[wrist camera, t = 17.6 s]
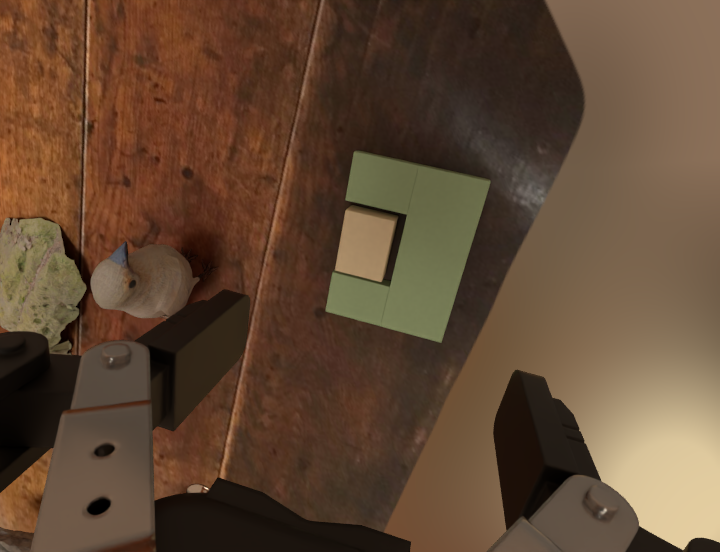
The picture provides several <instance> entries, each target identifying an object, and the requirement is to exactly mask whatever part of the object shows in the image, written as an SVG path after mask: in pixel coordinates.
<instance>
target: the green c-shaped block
mask: <svg viewBox="0 0 720 552" xmlns="http://www.w3.org/2000/svg"><path fill="white" fill-rule="evenodd" d="M490 183H491V181H490V180H489V179H486V178H482V177H477V176H473V175H468V174H464V173H459V172H455V171H450V170H445V169H441V168H436V167H432V166H427V165H423V164H418V163H414V162H409V161H405V160H400V159H396V158H391V157H387V156H382V155H377V154H373V153H368V152H364V151H359V150H357V151H354V155H353V160H352V166H351V171H350V177H349V182H348V188H347V194H346V199H345V200H347V201H351V202H355V203H360V204H364V205H368V206H372V207H377V208H381V209H385V210H389V211H393V212H398V213H402V214H406V215H407V217H406V221H405V225H404V230H403V234H402V238H401V242H400V246H399V251H398V255H397V259H396V263H395V267H394V272H393V276H392V280H391V281H388V280H384V279H383V280H382V282H378V281H375V280H371V279H367V278H363V277H359V276H355V275H351V274H347V273H343V272H339V271H336V270H334V271H333V272H332V277H331V283H330V289H329V294H328V300H327V305H326V312H330V313H334V314H337V315H341V316H345V317H348V318H352V319H356V320H359V321H363V322H367V323H371V324H374V325H378V326H381V327H385V328H389V329H392V330H396V331H400V332H403V333H407V334H411V335H414V336H418V337H422V338H426V339H429V340H433V341H437V342H440V343H441V342H442V339H443V336H444V332H445V329H446V326H447V323H448V319H449V316H450V313H451V310H452V306H453V303H454V300H455V297H456V293H457V290H458V287H459V284H460V280H461V277H462V274H463V271H464V267H465V264H466V261H467V257H468V254H469V251H470V248H471V244H472V241H473V238H474V235H475V231H476V228H477V225H478V222H479V218H480V215H481V212H482V209H483V205H484V202H485V199H486V196H487V192H488V189H489V186H490Z"/></svg>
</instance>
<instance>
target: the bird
mask: <svg viewBox="0 0 720 552" xmlns="http://www.w3.org/2000/svg"><path fill="white" fill-rule="evenodd" d="M191 250H192V249H191ZM191 250H190V251H189V252H188V254H187V256H186V255H185V253H184V252H183V248H182V249H181V251H182V255H183V256H182V255H181V254H180V253H179V252H178V251H176V250H175V249H173V248H172V247H170V246H168V245H162V244H159V245H154V244H150V245H148V246H145V247H143V248H141V249H139V250H137V251H135V252H133V253H130V254H128V249H127V242H126V241H125V242H124V243H123V244H122V245H121V246H120V247H119V248H118V249H117V250H116V251H115V252H114V253H113V254H112V255H111V256H110V257H108V258H107V259H105V260H104V261H102V262H101V263H99V265H98V266H97V267H96V268H95V270H94V272H93V275H92V278H91V290H92V293H93V297H94V299H95V301H96V302H97V303H98V305H99V306H100V307H102V308H105V309H117V310H122V311H125V312H127V313H129V314H131V315H133V316H135V317H139V318H156V317H161V316H164V317H166V318H169V317H168V316H172V315H173V314H174V315H175V314H176V312H178V311H179V310H181V309H182V308H183V307H185V305H186V303H187V301H188V298H189V296H190V294H191V292H192V289H193V287H194V285H195V284H196V283H197V282H198V281H199V280H200V278H201V277H202V276H203V275H204V277H203V282H204V281H205V279H206V277H207V275H210V274H211V272H213V271H214V270H216V269H217V268H218V267H215V268H213V269H210V265H211V263H212V261H211V262H210V263H209V264H208V266H207V267H206V266H205V264H204V262H203V259H202V266H203V268H204V273H202V274H200V275H199V276H198V277H196V278H193V277H192V269H191V267H190V264H189V263H190V262H191V260H193V259H194V258H196V257H197V256H198V255H196V256H193V257H191V258H190V253H191ZM164 317H162V318H164ZM164 319H165V318H164Z"/></svg>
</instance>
